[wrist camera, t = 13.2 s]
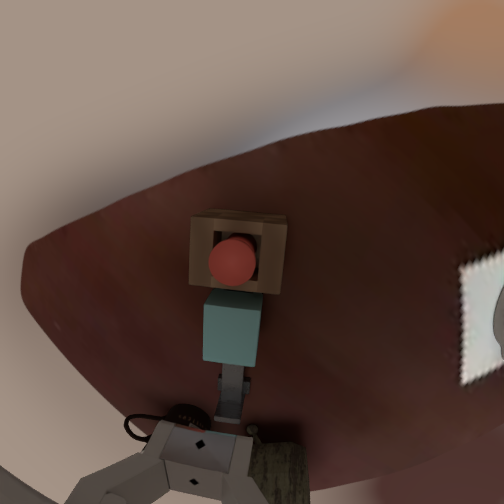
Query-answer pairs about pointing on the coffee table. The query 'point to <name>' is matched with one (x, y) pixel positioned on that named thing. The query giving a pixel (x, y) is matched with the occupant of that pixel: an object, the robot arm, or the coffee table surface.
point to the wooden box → (230, 221)
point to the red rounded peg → (233, 259)
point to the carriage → (231, 327)
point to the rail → (232, 391)
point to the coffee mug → (175, 419)
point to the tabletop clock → (279, 470)
